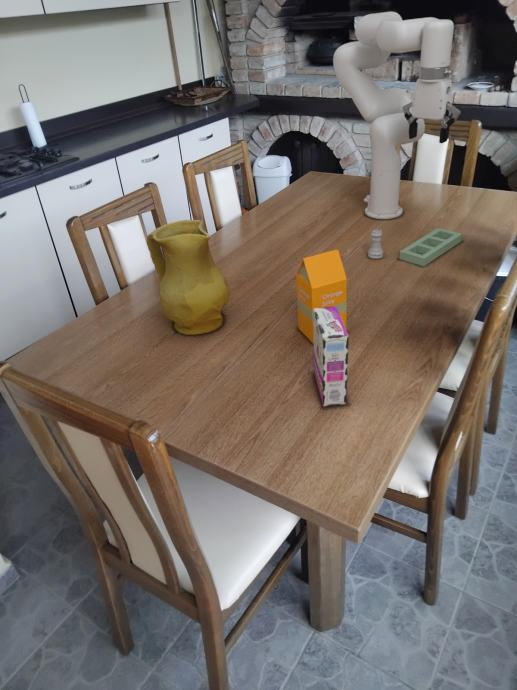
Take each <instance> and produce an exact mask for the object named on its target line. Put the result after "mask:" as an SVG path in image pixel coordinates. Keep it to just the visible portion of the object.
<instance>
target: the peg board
mask: <svg viewBox="0 0 517 690" xmlns="http://www.w3.org/2000/svg"><path fill="white" fill-rule="evenodd" d="M462 238H463V233H462V232H461V233H460V232H458V231H453V230H449V229H445V228H441V227H437V228H435V229H434V230H431V232H429V233H427V234H426V235H424V236H422V237H421V238H419V239H417V240H415V241H414V242H412V243H411V244H409V245H408V246H406V247H404V248H403V249H401V250H399V256H398V259H399V260H401V261H405V262H408V263H411V264H414V265H417V266H421V267H425V266H427V265H428V264H430V263H431V262H433V261H435V260H436V259H437V258H439V257H440V256H441V255H443V254H445V253H446V252H448V251H449V250H451V249H453V248H454V247H455V246H457V245H458V244H459V243H461V242H462Z"/></svg>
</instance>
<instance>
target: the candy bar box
mask: <svg viewBox="0 0 517 690" xmlns="http://www.w3.org/2000/svg"><path fill="white" fill-rule="evenodd" d="M349 339H350V334H349V333H348V330H347V327H346V328H345V326H344V323H343V321H342V318H341V316H340V313H339V311H338V308H337V306H333V307H323V308H314V344H313V374H314V378H315V382H316V385H317V389H318V393H319V397H320V399H321V404H322V407H323V408H324V407H325V408H326V407H334V406H335V407H336V406H344V405H347V398H348V397H347V395H348V367H349V366H348V365H349V364H348V363H349Z"/></svg>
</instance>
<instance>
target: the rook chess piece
mask: <svg viewBox="0 0 517 690" xmlns="http://www.w3.org/2000/svg"><path fill="white" fill-rule="evenodd" d="M370 235H371V245H370V247H369V249H368V251H367V253H368V254H367V256H368V258H370V259H372V260H379V259H382V258H383V257H384V250H383V248H382V243H381V241H382V236H383V232H382V230H381V229H380V228H375V229H372V231H371V233H370Z"/></svg>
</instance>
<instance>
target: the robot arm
mask: <svg viewBox="0 0 517 690" xmlns="http://www.w3.org/2000/svg"><path fill="white" fill-rule="evenodd" d="M454 26H455V24H454V22H453V21H452V20H451V19H442V18H441V19H439V18H436V17H433V16H429V17H428V16H427V17H421V18H412V19H404V20H403V18H402V16H401V14H399V13H398V12H396V11H384V12H376V13H375V12H374V13H369V14H366V15H363V16H362V17H360V19H359V20H358V21H357V23H356V25H355V28H354V35H355V38H356V40H357V41H351V42H347V43H343V44H342V45H340V46H339V47H337V48H336V50H334V51H335V52H334V53H333V57H332V64H333V65H332V66H333V70H334V71H333V72H334V74H335V77H336V80H337V81H338V83H339V85H340V86H341V87H342V88H343V89H344V90H345V91H346V93H347V94H348V95H349V96H350V98H351V99H352V101H353V103H354V105H355V106H356V108H357V110H358V111H359V113H360V114H361V117H362V118H363V119H364V121H366V122H367V123H371V124H370V126H369V130H368V131H369V142H370V151H371V152H370V153H371V161H370V162H371V165H370V187H369V188H370V189H369V190H370V192H369V194H367V195H366V196H365V198H364V199H363V202H364V203H367V207H365V209H364V214H365V215H366V216H367V217H369V218H371V219H377V220H391V219H396V218H398V217H400V216H402V214H403V211H404V210H403V207H402V206H400V205H399V201H400V200H399V199H400V186H401V171H402V158H401V155H400V154H399V152H398V150H397V146H403V145H406V144H412V143H416V142H418V141H419V140H421V139H422V137H423V136H424V135H425V130H426V123H425V120H429V121H439V123H440V124H441V128H440V130H439V140H438V143H439V144H443V143H446V142H448V139H449V136H450V129H451V127H452V126H453V124H455V122H457V120H458V118H459V116H460V115H461V114H462V112H461V110H460V109H458V108H457V106H454V105H453V104H452V103H453V85H452V84H453V83H452V78H449V77H450V76H453V75H454V69H451V66H450V65H451V56H452V49H453V39H454V38H453V37H454V29H455V27H454ZM416 51H420V60H419V61H420V63H419V74H418V75H419V76H418V78H417V79H416V82H415V85H414V89H413V95H412V97H411V96H410V94H409V93H408V92H407V91H406V90H405V89H403V88H401V87H390V88H380V87H378V85H377V84H376V82H375V80H374V79H373V78H372V77H371V76H369V74H367V73H365V72H364V70H369V69H376V68H379V67H381V66H383V65H384V64H386V61H388V59H389V57H390V55H391V54H402V53H409V52H416ZM451 114H452V115H451ZM450 116H451V117H450Z"/></svg>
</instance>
